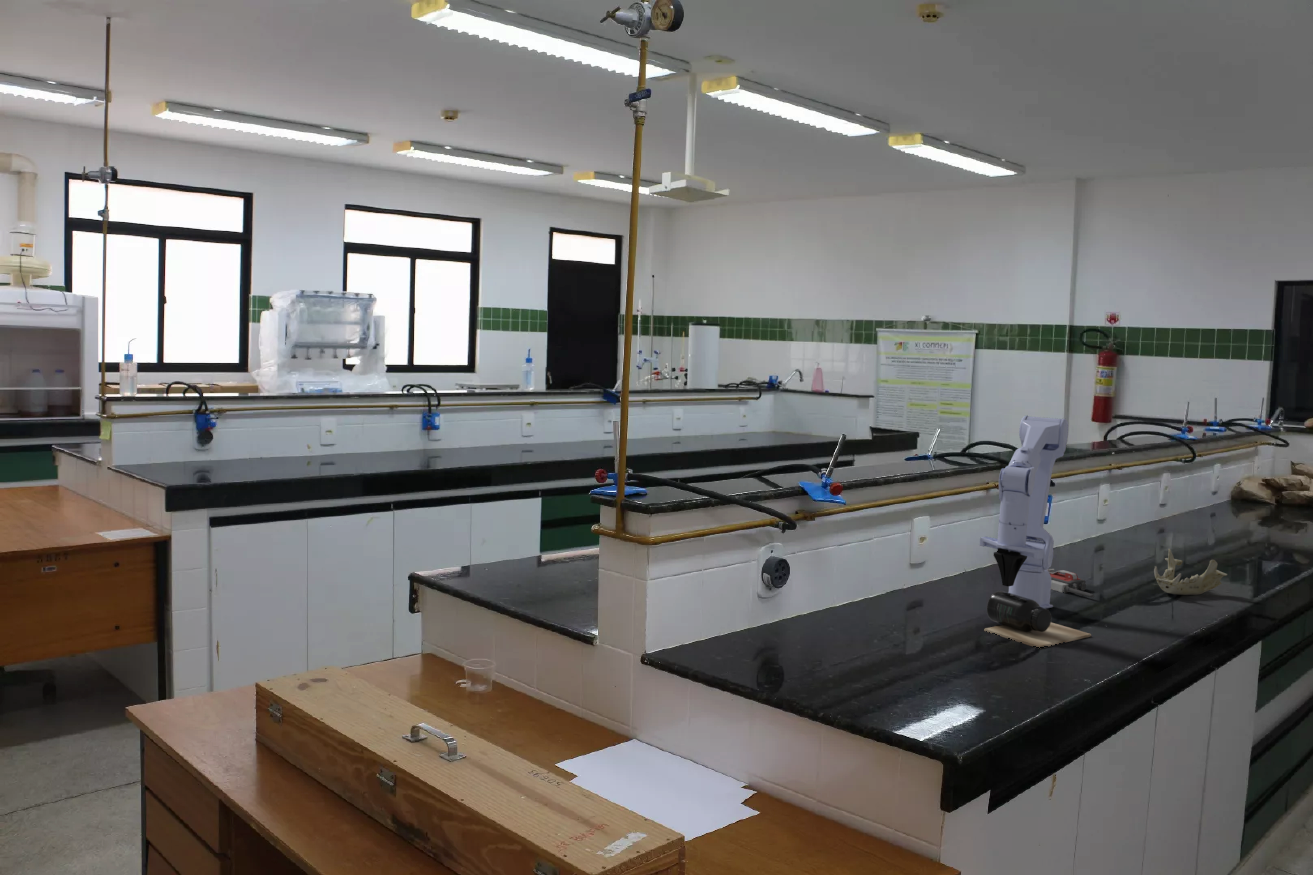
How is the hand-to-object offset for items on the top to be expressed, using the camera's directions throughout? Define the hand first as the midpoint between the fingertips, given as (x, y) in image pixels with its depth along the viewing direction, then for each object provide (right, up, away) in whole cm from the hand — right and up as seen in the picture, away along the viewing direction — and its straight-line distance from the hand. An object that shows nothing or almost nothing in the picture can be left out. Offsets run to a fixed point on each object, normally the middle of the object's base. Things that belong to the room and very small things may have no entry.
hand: (1007, 585), depth 212 cm
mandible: (+56, -8, +37) cm, 68 cm away
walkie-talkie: (+27, -7, +35) cm, 45 cm away
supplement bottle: (-2, -4, 0) cm, 5 cm away
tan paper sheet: (+4, -9, -6) cm, 12 cm away
